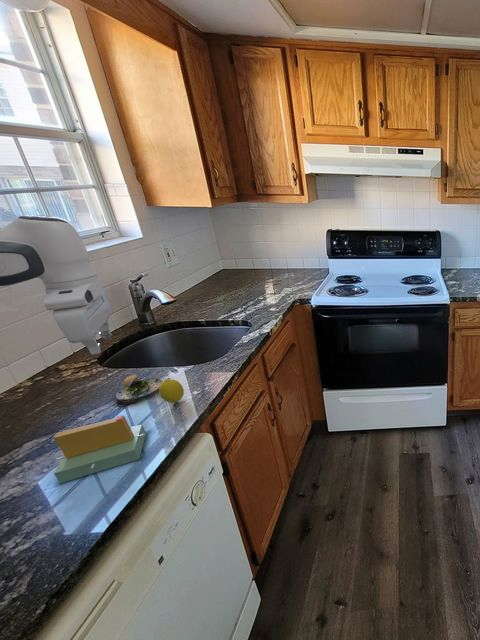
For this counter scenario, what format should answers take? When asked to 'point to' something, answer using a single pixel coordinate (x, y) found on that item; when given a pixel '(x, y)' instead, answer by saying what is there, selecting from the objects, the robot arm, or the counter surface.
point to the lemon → (171, 391)
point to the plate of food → (136, 389)
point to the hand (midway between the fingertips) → (102, 345)
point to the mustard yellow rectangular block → (94, 436)
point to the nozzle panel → (101, 457)
